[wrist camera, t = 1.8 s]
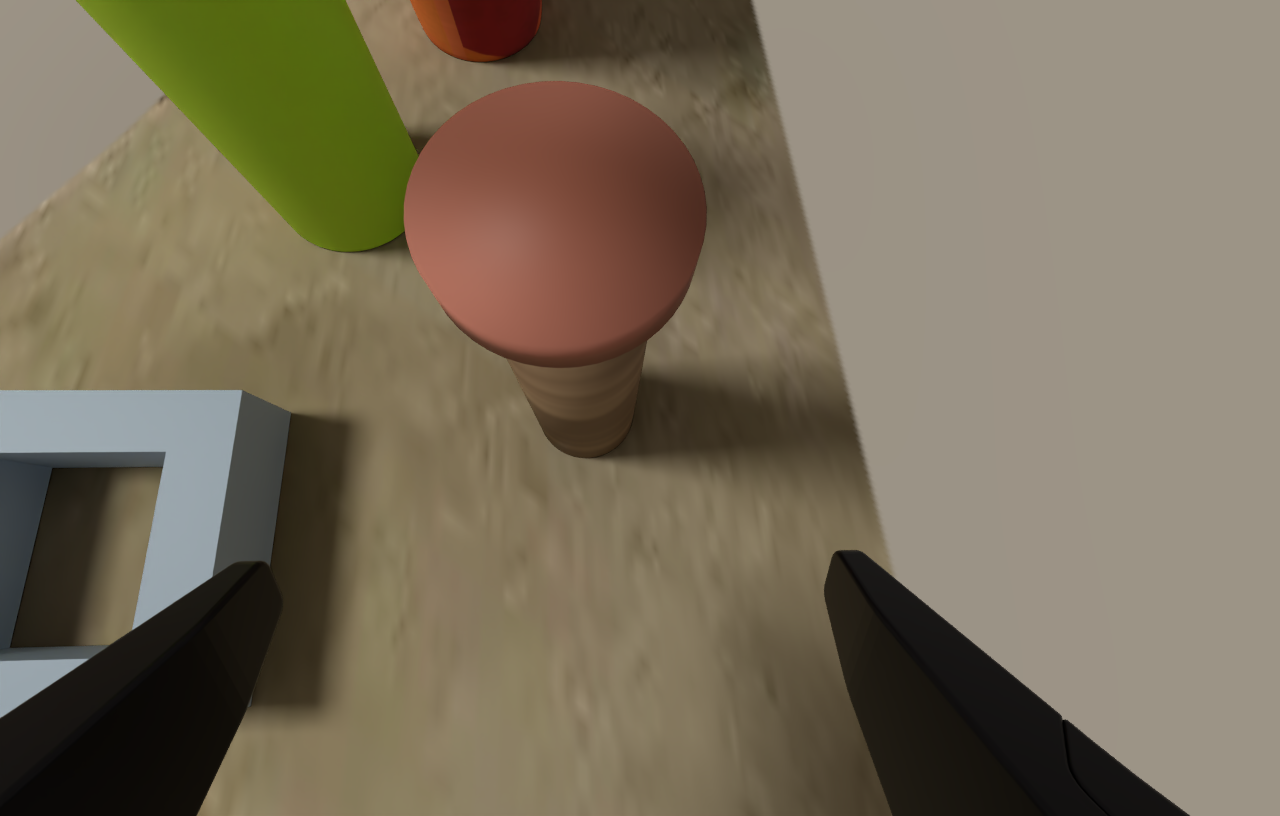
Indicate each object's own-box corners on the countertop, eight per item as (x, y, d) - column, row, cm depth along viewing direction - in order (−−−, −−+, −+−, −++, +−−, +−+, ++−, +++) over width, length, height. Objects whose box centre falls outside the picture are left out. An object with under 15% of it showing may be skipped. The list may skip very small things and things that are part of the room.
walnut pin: (650, 473, 22) (713, 347, 9) (521, 474, 22) (390, 346, 9) (647, 353, 23) (700, 85, 10) (525, 352, 23) (416, 76, 10)
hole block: (250, 705, 19) (186, 732, 16) (-73, 716, 19) (-198, 745, 16) (291, 412, 22) (242, 390, 19) (7, 413, 21) (-89, 390, 18)
